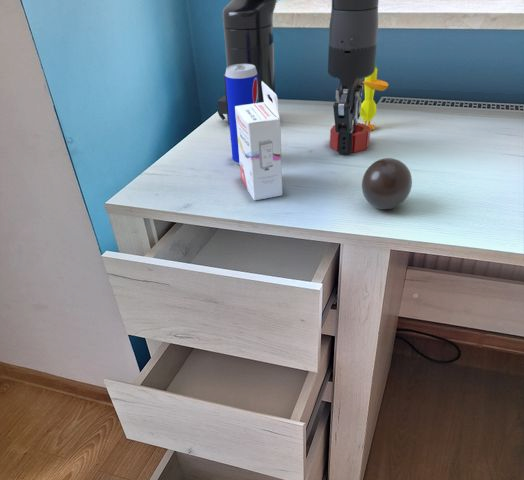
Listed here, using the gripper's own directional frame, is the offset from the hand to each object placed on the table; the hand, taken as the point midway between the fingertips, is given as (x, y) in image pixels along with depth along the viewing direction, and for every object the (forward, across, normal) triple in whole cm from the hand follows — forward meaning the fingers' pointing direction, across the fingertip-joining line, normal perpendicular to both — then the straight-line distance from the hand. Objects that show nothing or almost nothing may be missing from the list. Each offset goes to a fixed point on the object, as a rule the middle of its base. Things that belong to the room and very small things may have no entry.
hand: (346, 150), depth 93 cm
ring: (0, -3, 0) cm, 3 cm away
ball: (0, +20, +10) cm, 22 cm away
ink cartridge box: (0, +18, -10) cm, 21 cm away
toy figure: (0, -12, +2) cm, 12 cm away
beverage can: (0, +8, -16) cm, 18 cm away
